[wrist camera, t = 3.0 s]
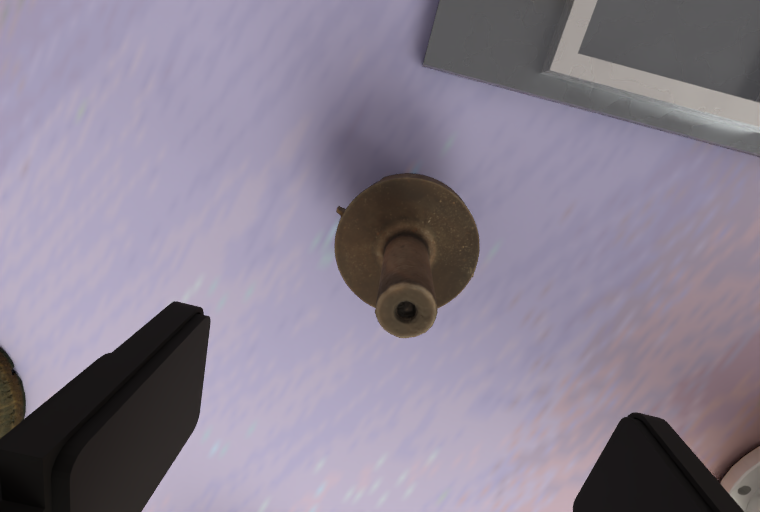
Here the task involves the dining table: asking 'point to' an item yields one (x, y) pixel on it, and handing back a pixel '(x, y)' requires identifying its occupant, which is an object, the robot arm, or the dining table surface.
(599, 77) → the mounting plate
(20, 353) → the dining table surface
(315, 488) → the dining table surface
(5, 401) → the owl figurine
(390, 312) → the industrial component
